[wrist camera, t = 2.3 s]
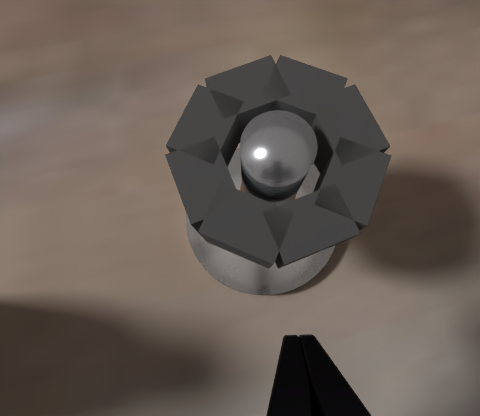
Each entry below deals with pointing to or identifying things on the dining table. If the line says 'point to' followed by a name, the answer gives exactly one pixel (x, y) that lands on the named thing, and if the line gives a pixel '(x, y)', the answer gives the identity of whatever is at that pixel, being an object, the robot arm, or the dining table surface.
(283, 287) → the pipe stand
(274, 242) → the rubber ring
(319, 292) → the dining table surface
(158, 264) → the dining table surface
